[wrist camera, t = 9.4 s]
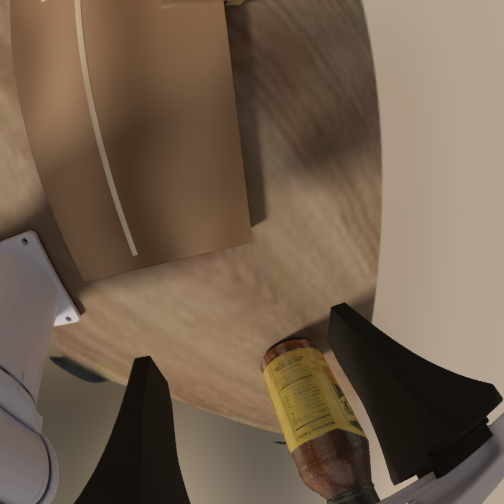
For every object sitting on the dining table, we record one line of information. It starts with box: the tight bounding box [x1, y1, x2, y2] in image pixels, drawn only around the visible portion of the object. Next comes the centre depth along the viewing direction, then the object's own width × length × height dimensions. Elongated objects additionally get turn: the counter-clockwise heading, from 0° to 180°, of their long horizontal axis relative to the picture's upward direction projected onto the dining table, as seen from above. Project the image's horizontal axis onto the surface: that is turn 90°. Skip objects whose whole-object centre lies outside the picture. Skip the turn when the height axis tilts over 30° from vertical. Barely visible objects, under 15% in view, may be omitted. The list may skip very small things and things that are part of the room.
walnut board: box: [10, 0, 253, 282], centre depth 11 cm, size 11×22×2 cm, turn 6°
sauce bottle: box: [261, 339, 380, 504], centre depth 20 cm, size 7×6×20 cm
